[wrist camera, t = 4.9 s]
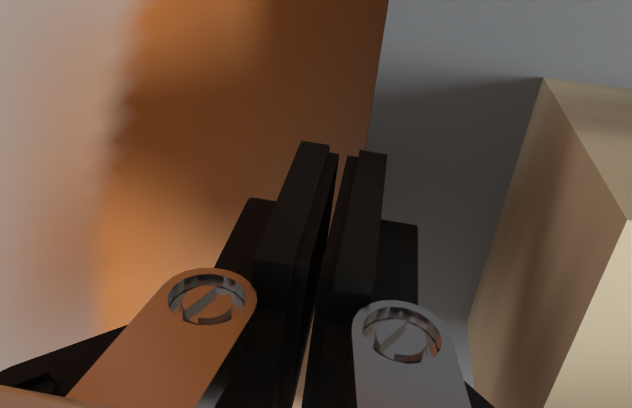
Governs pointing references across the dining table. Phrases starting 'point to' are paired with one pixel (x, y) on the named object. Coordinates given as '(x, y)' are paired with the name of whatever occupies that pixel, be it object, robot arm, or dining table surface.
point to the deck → (475, 121)
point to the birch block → (561, 260)
